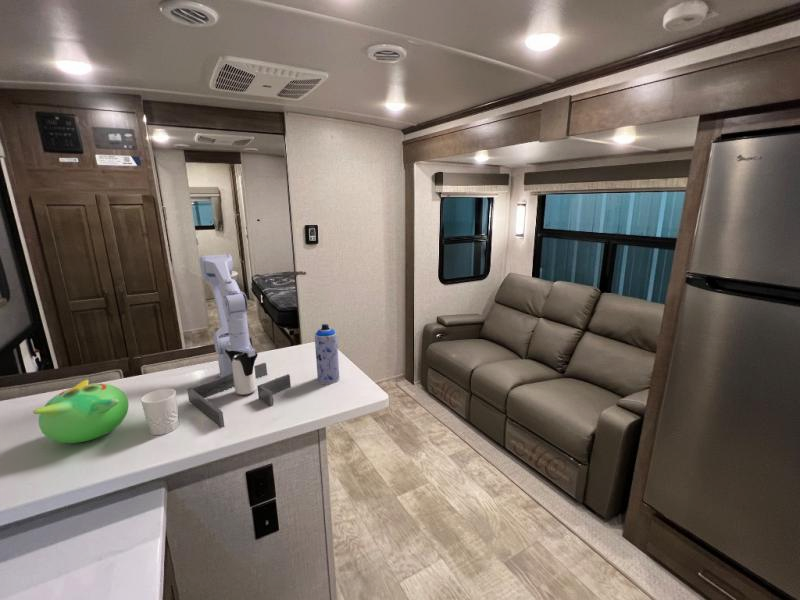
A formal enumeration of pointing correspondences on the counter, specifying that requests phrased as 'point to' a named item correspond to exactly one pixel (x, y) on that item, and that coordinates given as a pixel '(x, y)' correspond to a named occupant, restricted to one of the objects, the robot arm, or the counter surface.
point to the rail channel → (226, 382)
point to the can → (242, 378)
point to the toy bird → (83, 412)
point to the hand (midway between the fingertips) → (243, 371)
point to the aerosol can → (327, 355)
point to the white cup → (161, 411)
